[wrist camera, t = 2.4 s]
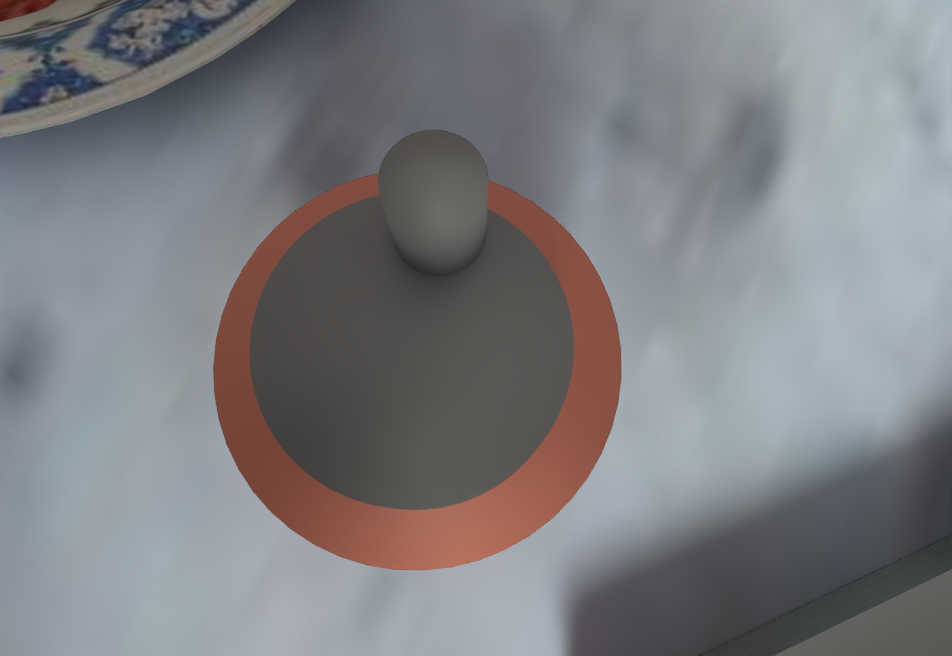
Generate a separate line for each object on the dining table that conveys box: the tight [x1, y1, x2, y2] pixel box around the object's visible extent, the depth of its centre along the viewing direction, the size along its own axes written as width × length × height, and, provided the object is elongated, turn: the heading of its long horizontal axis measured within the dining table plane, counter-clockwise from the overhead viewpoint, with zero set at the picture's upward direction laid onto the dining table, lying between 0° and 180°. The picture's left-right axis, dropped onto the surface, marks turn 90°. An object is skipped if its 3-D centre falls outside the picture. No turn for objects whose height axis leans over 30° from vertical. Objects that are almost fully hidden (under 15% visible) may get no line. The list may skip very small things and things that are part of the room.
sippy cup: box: [213, 130, 621, 570], centre depth 14 cm, size 6×6×12 cm
